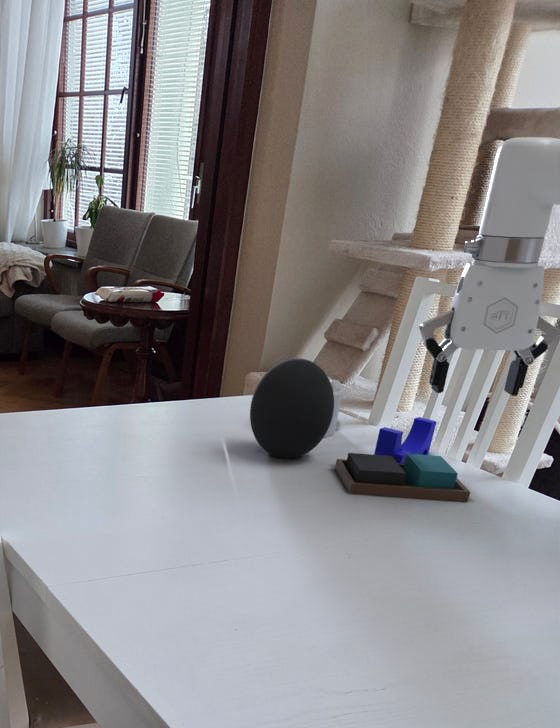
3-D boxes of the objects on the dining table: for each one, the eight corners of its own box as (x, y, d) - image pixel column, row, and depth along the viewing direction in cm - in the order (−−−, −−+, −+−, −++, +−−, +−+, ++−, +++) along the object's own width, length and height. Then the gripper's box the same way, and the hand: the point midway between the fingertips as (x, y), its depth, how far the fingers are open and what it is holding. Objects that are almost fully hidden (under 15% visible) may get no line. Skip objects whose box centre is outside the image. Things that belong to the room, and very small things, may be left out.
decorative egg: (317, 448, 138) (335, 353, 131) (329, 473, 128) (349, 370, 120) (241, 443, 139) (254, 347, 132) (246, 466, 129) (261, 364, 121)
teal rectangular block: (434, 478, 126) (441, 455, 125) (451, 497, 119) (458, 473, 118) (400, 476, 126) (406, 453, 125) (415, 494, 120) (421, 470, 118)
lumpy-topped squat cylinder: (336, 423, 153) (346, 373, 149) (332, 442, 142) (342, 389, 138) (278, 415, 156) (286, 367, 151) (269, 434, 145) (277, 382, 140)
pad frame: (442, 479, 128) (446, 466, 127) (466, 505, 118) (470, 492, 117) (334, 471, 129) (336, 458, 128) (348, 497, 119) (351, 483, 118)
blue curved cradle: (397, 475, 129) (407, 435, 126) (371, 467, 131) (379, 428, 128) (435, 461, 136) (445, 423, 133) (410, 453, 139) (419, 416, 136)
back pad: (387, 475, 127) (392, 455, 125) (401, 493, 120) (406, 473, 118) (344, 472, 127) (348, 452, 125) (355, 490, 120) (359, 469, 118)
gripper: (445, 253, 103) (415, 396, 111) (592, 257, 102) (551, 401, 110) (427, 248, 110) (400, 383, 118) (566, 252, 109) (528, 388, 117)
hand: (473, 392), depth 114 cm, fingers open, 9 cm apart
